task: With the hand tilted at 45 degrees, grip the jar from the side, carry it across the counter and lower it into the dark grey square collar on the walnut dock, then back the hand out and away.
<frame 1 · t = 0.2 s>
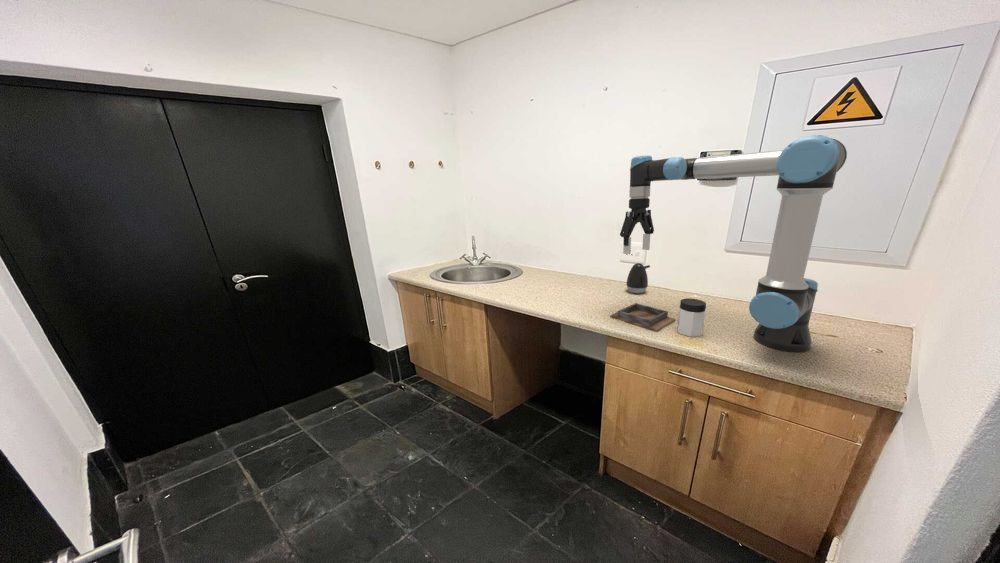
hand: (636, 251, 135), 27 cm above the worktop, tool pointing down, fingers open, 13 cm apart
dock: (642, 319, 137), on the worktop
jar: (689, 332, 124), on the worktop
pump dispenser: (636, 292, 171), on the worktop
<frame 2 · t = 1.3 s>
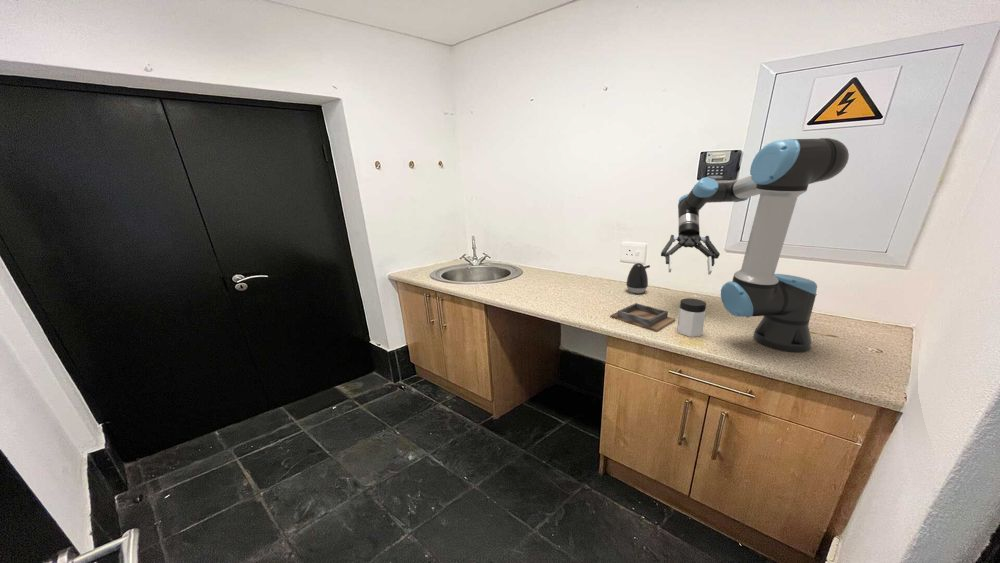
hand: (689, 271, 128), 20 cm above the worktop, tool tilted 45°, fingers open, 13 cm apart
nothing on the worktop moved.
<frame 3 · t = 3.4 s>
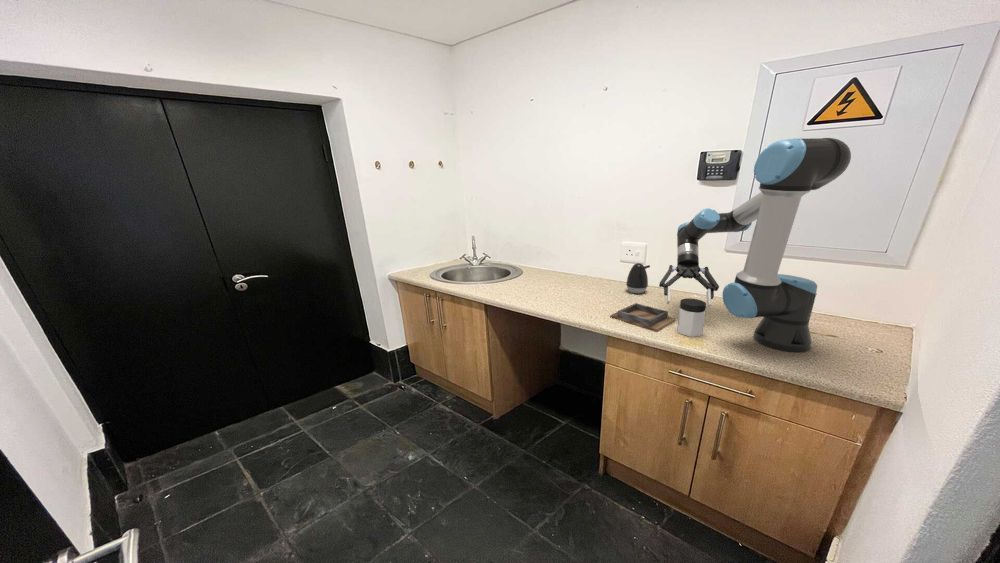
hand: (688, 304, 126), 9 cm above the worktop, tool tilted 45°, fingers open, 13 cm apart
nothing on the worktop moved.
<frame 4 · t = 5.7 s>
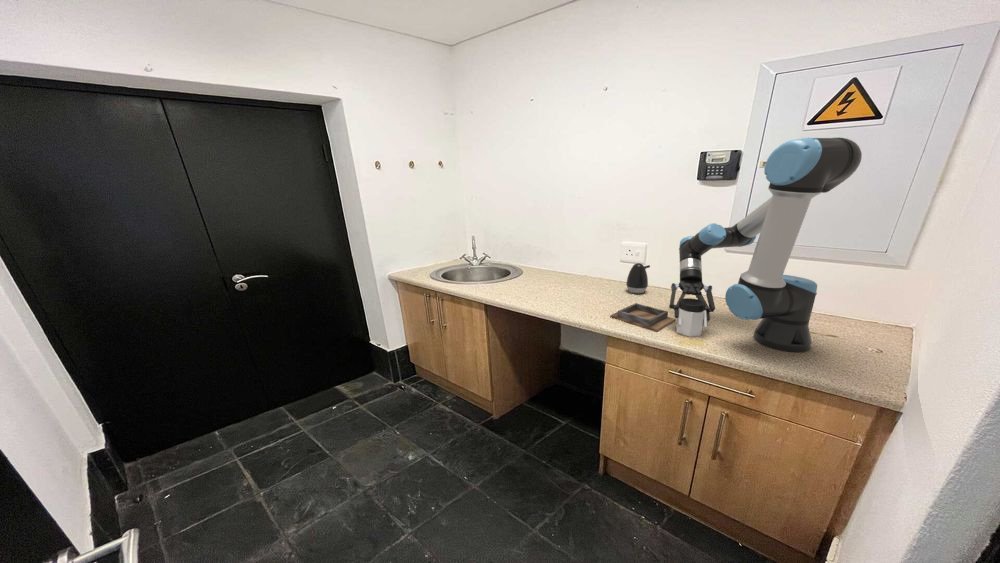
hand: (692, 327, 120), 4 cm above the worktop, tool tilted 45°, fingers closed on jar, 7 cm apart
jar: (687, 332, 124), on the worktop, touching gripper
everything else where it was.
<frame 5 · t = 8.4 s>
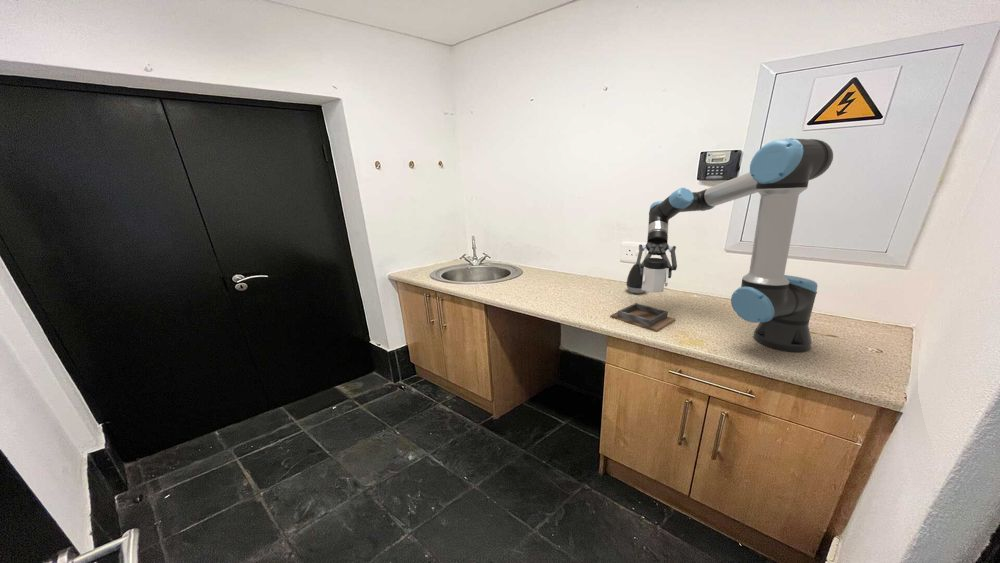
hand: (654, 283, 128), 17 cm above the worktop, tool tilted 45°, fingers closed on jar, 7 cm apart
jar: (652, 289, 132), point 13 cm above the worktop, touching gripper
everything else where it was.
when the fingers open (5 cm above the worktop, at t = 11.0 s): jar moves 1 cm, resting on dock.
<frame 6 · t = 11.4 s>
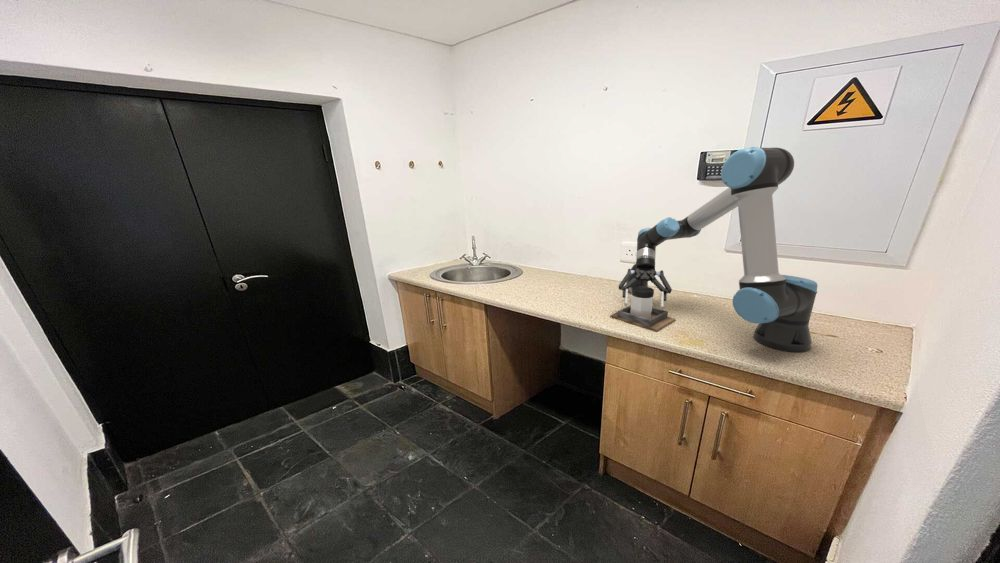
hand: (643, 306, 133), 7 cm above the worktop, tool tilted 45°, fingers open, 13 cm apart
jar: (640, 317, 137), point 1 cm above the worktop, touching dock
everything else where it was.
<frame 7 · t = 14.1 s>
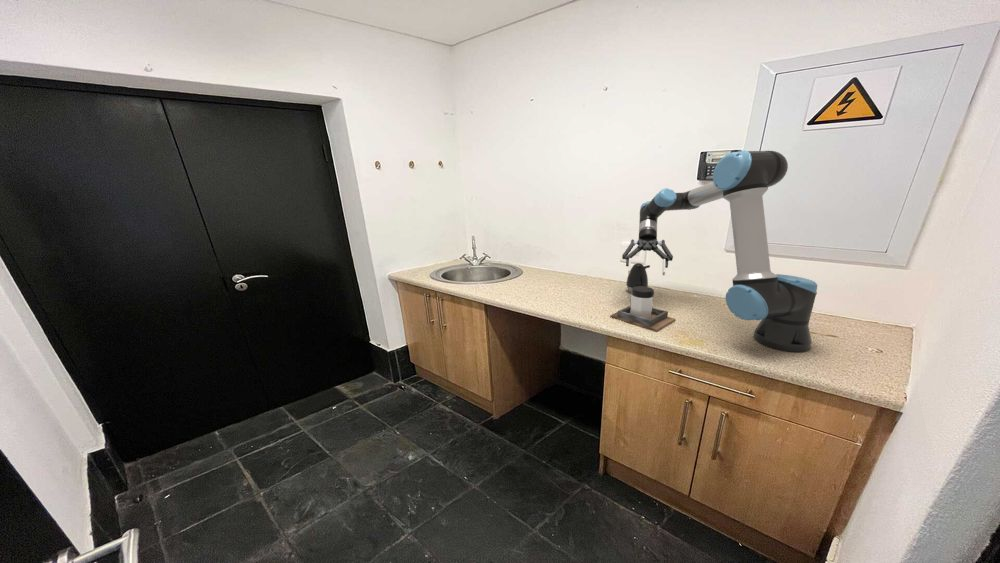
hand: (646, 273, 142), 17 cm above the worktop, tool tilted 45°, fingers open, 13 cm apart
nothing on the worktop moved.
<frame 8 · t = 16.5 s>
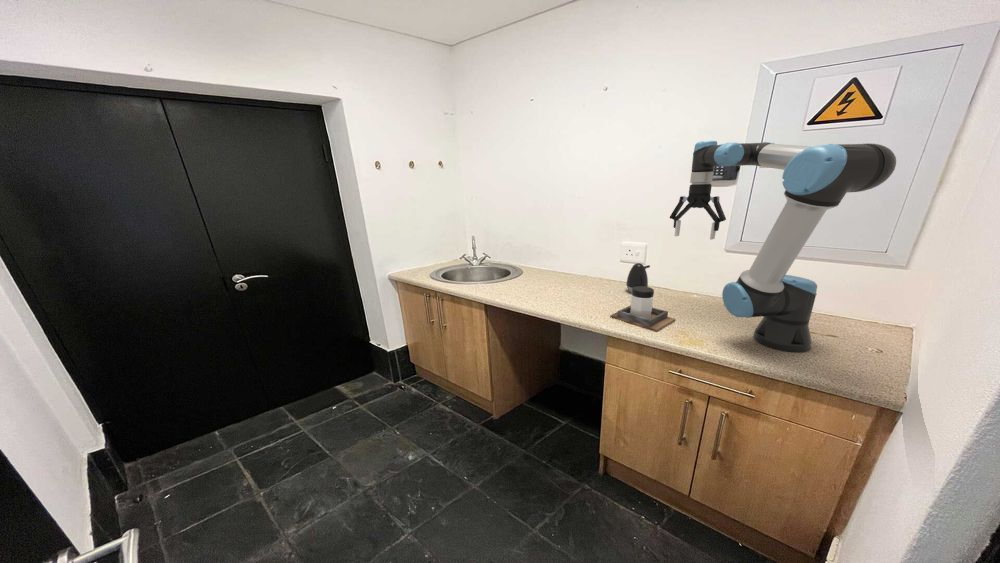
hand: (693, 237, 137), 32 cm above the worktop, tool pointing down, fingers open, 13 cm apart
nothing on the worktop moved.
at the end: jar 0.7 cm from the target spot, point 0.8 cm above the worktop; jar tilted 0°; the gripper is holding nothing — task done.
